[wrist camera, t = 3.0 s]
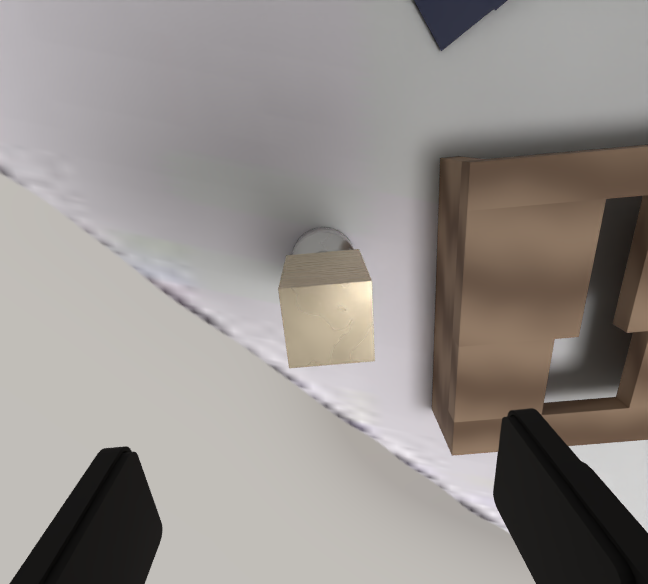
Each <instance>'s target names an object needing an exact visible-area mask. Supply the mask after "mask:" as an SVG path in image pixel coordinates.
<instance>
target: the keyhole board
mask: <svg viewBox="0 0 648 584" xmlns="http://www.w3.org/2000/svg"><path fill="white" fill-rule="evenodd" d="M633 196H643V197H642V201H641V205H640V210H639V214H638V218H637V222H636V227H635V231H634V235H633V239H632V244H631V248H630V252H629V256H628V261H627V265H626V269H625V273H624V278H623V282H622V286H621V290H620V295H619V299H618V303H617V307H616V312H615V316H614V320H613V325H615V326H616V327H618V328H620V329H621V330H623V331H625V332H626V333H631V332H633V334H632V338H631V342H630V345H629V349H628V353H627V357H626V361H625V365H624V368H623V372H622V376H621V380H620V384H619V388H618V391H617V395H616V397H610V398H598V399H585V400H573V401H561V402H549V403H544V398H545V392H546V386H547V380H548V374H549V369H550V363H551V357H552V351H553V345H554V340H555V339H559V338H571V337H579V333H580V328H581V323H582V318H583V313H584V307H585V302H586V297H587V292H588V287H589V282H590V277H591V272H592V267H593V262H594V257H595V252H596V247H597V242H598V237H599V232H600V227H601V222H602V217H603V212H604V207H605V202H606V199H610V198H622V197H633ZM529 408H534V409H536V410H537V411H538V412H539V413H540V414H541V415H542V416H543V418H544V419H545V420H546V421H547V422H548V423H549V425H550V426H551V427H552V428H553V429H554V430H555V432H556V433H557V434H558V435H559V436H560V437H561V439H562V440H563V441H564V442H565V443H566V444H567V446H575V445H587V444H600V443H612V442H624V441H637V440H648V145H639V146H627V147H616V148H605V149H593V150H582V151H571V152H560V153H548V154H537V155H526V156H514V157H503V158H492V159H478V158H469V157H460V156H458V157H446V158H440V178H439V208H438V239H437V269H436V299H435V329H434V360H433V390H432V410H433V413H434V415H435V417H436V420H437V422H438V424H439V427H440V429H441V431H442V433H443V436H444V438H445V440H446V443H447V445H448V447H449V449H450V452H451V454H452V455H464V454H476V453H488V452H498V448H499V439H500V431H501V422H502V418H503V417H507V415H508V412H509V411H510V410H519V409H529Z"/></svg>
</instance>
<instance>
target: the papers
mask: <svg viewBox="0 0 648 584" xmlns="http://www.w3.org/2000/svg"><path fill="white" fill-rule="evenodd" d="M414 1H415V3H416V5H417V7H418V9H419V11H420V12H421V14H422V16H423V18H424V20H425V22H426V24H427V25H428V27H429V29H430V31H431V33H432V35H433V37H434V38H435V40H436V42H437V44H438V46H439V48H440V50H441V51H442V50H443V49H444V48H446V47H447V46H448V45H449V44H451V43H452V42H453V41H454V40H456V39H457V38H458V37H459V36H461V35H462V34H463V33H464V32H465V31H467V30H468V29H469V28H470V27H472V26H473V25H474V24H475V23H477V22H478V21H479V20H480V19H482V18H483V17H484V16H485V15H487V14H488V13H489V12H490V11H491V10H493V9H494V10H497V9H498V8H499V7H500V6H501V5H503V4H504V3H505V2H506V1H507V0H414Z"/></svg>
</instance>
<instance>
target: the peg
mask: <svg viewBox="0 0 648 584" xmlns="http://www.w3.org/2000/svg"><path fill="white" fill-rule="evenodd" d="M278 291H279V299H280V306H281V313H282V320H283V327H284V334H285V342H286V349H287V356H288V363H289V368H298V367H310V366H322V365H334V364H346V363H359V362H371V361H375V355H374V328H373V300H372V280H371V278H370V275H369V273H368V270H367V268H366V265H365V263H364V260H363V258H362V256H361V253H360V251H359V249H355V250H354V249H353V246H352V244H351V242H350V241H349V239H348V238H347V237H346V236H345V235H344V234H343V233H341V232H339V231H338V230H335V229H332V228H327V227H320V228H315V229H312V230H310V231H308V232H306V233H305V234H303V235H302V236H301V237H300V238H299V239H298V241H297V242H296V244H295V246H294V249H293V253H292V255H286V259H285V263H284V267H283V271H282V275H281V279H280V284H279V288H278Z"/></svg>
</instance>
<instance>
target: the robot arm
mask: <svg viewBox="0 0 648 584" xmlns="http://www.w3.org/2000/svg"><path fill="white" fill-rule="evenodd" d="M493 496H494V501H495V504H496V507H497V509H498V511H499V513H500V515H501V517H502V519H503V521H504V523H505V525H506V527H507V528H508V530H509V532H510V534H511V536H512V538H513V540H514V542H515V544H516V545H517V548H518V550H519V552H520V554H521V555H522V557H523V559H524V561H525V563H526V565H527V567H528V569H529V571H530V573H531V575H532V576H533V579H534V581H535V582H536V584H648V533H647V532H646V530H645V529H644V528H643V527H642V526H641V525H640V524H639V522H638V521H637V520H636V519H635V518H634V517H633V516H632V514H631V513H630V512H629V511H628V510H627V509H626V508H625V506H624V505H623V504H622V503H621V502H620V501H619V500H618V498H617V497H616V496H615V495H614V494H613V493H612V492H611V490H610V489H609V488H608V487H607V486H606V485H605V483H604V482H603V481H602V480H601V479H600V478H599V477H598V475H597V474H596V473H595V472H594V471H593V470H592V469H591V468H590V467H589V466H588V465H587V464H586V463H584V462H582V461H580V460H579V458H578V457H577V456H576V455H575V454H574V453H573V451H572V450H571V449H570V448H569V447H568V446H567V444H566V443H565V442H564V441H563V440H562V439H561V437H560V436H559V435H558V434H557V433H556V432H555V430H554V429H553V428H552V427H551V426H550V425H549V423H548V422H547V421H546V420H545V419H544V418H543V416H542V415H541V414H540V413H539V412H538V411H537V410H536V409H534V408H529V409H519V410H510V411H509V412H508V415H507V417H503V418H502V422H501V431H500V439H499V448H498V456H497V465H496V473H495V482H494V490H493ZM161 537H162V523H161V520H160V517H159V514H158V511H157V509H156V506H155V503H154V500H153V497H152V494H151V492H150V489H149V486H148V483H147V480H146V477H145V474H144V472H143V469H142V466H141V463H140V460H139V457H138V455H137V453H136V452H132V451H131V450H130V448H129V447H115V448H104V449H102V450H101V451H100V452H99V453H98V454H97V456H96V457H95V459H94V460H93V461H92V463H91V465H90V466H89V468H88V469H87V470H86V472H85V473H84V475H83V476H82V478H81V479H80V481H79V482H78V484H77V485H76V487H75V488H74V490H73V491H72V493H71V494H70V495H69V497H68V498H67V500H66V501H65V503H64V504H63V506H62V507H61V509H60V510H59V512H58V513H57V515H56V516H55V518H54V519H53V521H52V522H51V523H50V525H49V526H48V528H47V529H46V531H45V532H44V534H43V535H42V537H41V538H40V540H39V541H38V543H37V544H36V546H35V547H34V549H33V550H32V552H31V553H30V555H29V556H28V557H27V559H26V561H25V562H24V563H23V565H22V566H21V568H20V569H19V571H18V572H17V574H16V575H15V577H14V578H13V580H12V581H11V582H10V584H145V581H146V578H147V576H148V573H149V570H150V568H151V565H152V562H153V560H154V557H155V554H156V552H157V549H158V546H159V544H160V541H161Z"/></svg>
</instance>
